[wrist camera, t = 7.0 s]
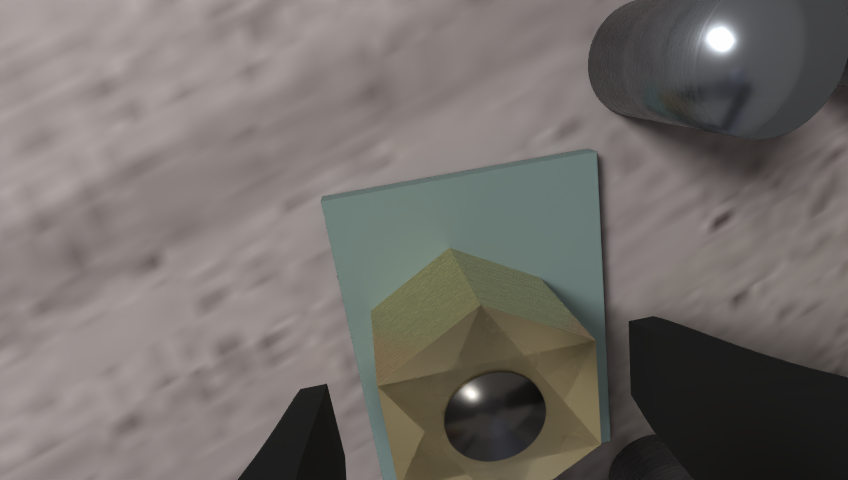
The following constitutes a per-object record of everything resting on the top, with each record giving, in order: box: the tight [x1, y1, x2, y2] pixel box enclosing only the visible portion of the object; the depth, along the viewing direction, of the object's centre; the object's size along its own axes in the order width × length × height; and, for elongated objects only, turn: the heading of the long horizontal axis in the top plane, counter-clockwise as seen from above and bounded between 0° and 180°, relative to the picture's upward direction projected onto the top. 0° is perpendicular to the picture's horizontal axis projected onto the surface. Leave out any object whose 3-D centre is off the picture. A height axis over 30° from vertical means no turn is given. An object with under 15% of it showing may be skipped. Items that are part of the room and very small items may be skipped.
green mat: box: [321, 149, 611, 480], centre depth 15 cm, size 9×7×1 cm
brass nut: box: [371, 248, 601, 480], centre depth 13 cm, size 5×5×4 cm
